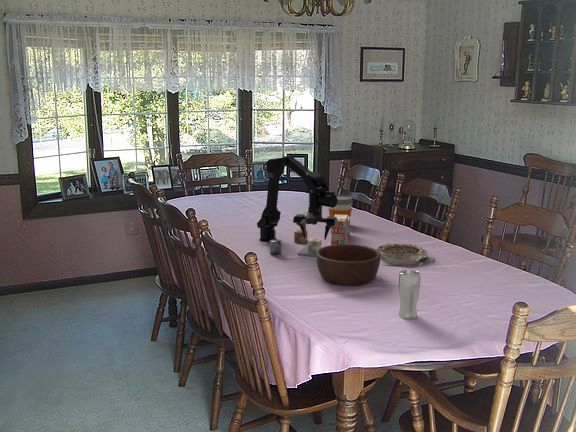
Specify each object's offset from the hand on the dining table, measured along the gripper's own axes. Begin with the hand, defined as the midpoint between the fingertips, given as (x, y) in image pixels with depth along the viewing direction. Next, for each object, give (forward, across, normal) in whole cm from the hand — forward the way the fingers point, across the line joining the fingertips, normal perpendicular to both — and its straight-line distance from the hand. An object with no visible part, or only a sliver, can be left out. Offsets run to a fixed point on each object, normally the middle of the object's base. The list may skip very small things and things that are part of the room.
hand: (315, 238), depth 276 cm
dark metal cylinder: (+6, -16, -7) cm, 19 cm away
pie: (+7, +38, +4) cm, 39 cm away
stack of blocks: (+7, +6, +24) cm, 25 cm away
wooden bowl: (+7, +21, -29) cm, 36 cm away
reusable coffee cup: (+6, 0, +51) cm, 52 cm away
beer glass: (+7, +48, -61) cm, 78 cm away
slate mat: (+6, 0, 0) cm, 6 cm away
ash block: (+6, 0, 0) cm, 6 cm away
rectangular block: (+6, -11, +16) cm, 21 cm away
